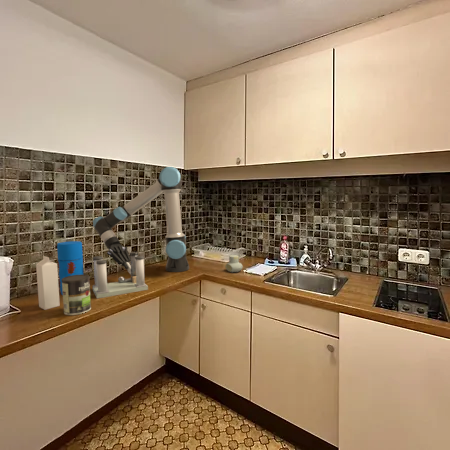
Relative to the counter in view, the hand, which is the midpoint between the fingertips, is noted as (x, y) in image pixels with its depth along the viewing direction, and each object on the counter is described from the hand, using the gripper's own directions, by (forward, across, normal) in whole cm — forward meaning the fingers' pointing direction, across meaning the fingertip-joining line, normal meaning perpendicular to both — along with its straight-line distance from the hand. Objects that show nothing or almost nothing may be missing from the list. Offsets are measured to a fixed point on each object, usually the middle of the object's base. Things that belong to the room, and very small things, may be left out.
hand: (132, 272), depth 157 cm
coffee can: (+11, +39, +4) cm, 41 cm away
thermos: (-6, +26, -14) cm, 30 cm away
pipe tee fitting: (+31, -48, +24) cm, 62 cm away
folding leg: (+3, +4, -1) cm, 5 cm away
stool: (+6, +12, -1) cm, 13 cm away
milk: (0, +42, -8) cm, 43 cm away
